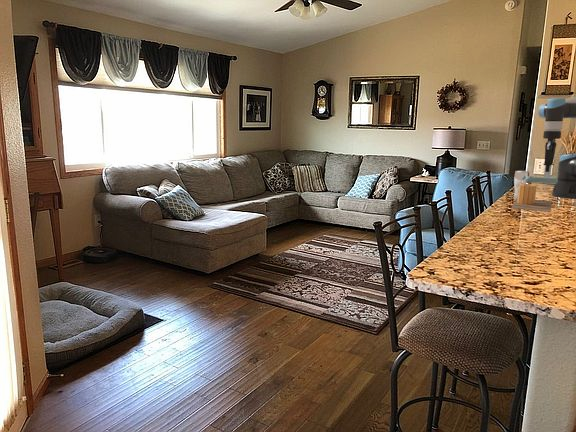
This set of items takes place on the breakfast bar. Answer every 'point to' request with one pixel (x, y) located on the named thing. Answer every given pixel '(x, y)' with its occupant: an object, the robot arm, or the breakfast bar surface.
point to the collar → (526, 194)
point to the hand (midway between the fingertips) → (546, 178)
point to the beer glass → (519, 180)
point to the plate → (534, 206)
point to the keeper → (541, 179)
